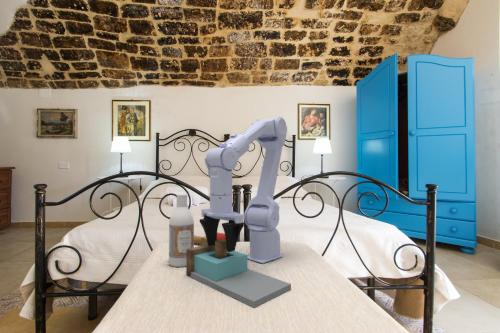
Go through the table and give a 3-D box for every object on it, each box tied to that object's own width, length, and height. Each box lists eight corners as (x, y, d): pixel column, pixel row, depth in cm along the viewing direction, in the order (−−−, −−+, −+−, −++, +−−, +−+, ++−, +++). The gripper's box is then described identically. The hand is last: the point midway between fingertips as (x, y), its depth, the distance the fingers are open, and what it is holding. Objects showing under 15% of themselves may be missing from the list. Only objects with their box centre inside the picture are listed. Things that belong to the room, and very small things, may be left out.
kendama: (183, 249, 99) (216, 252, 87) (184, 231, 101) (217, 231, 89) (200, 249, 105) (234, 251, 93) (201, 232, 106) (234, 232, 94)
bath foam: (172, 269, 75) (172, 195, 75) (166, 262, 81) (167, 193, 81) (196, 265, 78) (197, 194, 79) (189, 258, 84) (190, 192, 85)
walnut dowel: (222, 265, 72) (222, 239, 73) (229, 269, 70) (229, 241, 70) (212, 268, 70) (212, 240, 71) (219, 271, 68) (219, 243, 68)
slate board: (222, 264, 79) (222, 260, 79) (291, 289, 62) (290, 284, 62) (186, 275, 70) (186, 270, 71) (253, 307, 54) (253, 301, 54)
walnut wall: (222, 264, 79) (222, 241, 79) (227, 265, 78) (227, 242, 78) (186, 275, 70) (186, 249, 71) (190, 277, 69) (190, 250, 69)
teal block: (224, 262, 77) (224, 247, 77) (247, 270, 70) (247, 254, 71) (194, 271, 70) (194, 255, 70) (216, 281, 63) (216, 263, 64)
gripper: (191, 193, 73) (191, 245, 73) (227, 197, 63) (227, 257, 62) (213, 192, 78) (213, 240, 78) (249, 195, 68) (249, 251, 67)
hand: (221, 248), depth 70 cm, fingers open, 7 cm apart
